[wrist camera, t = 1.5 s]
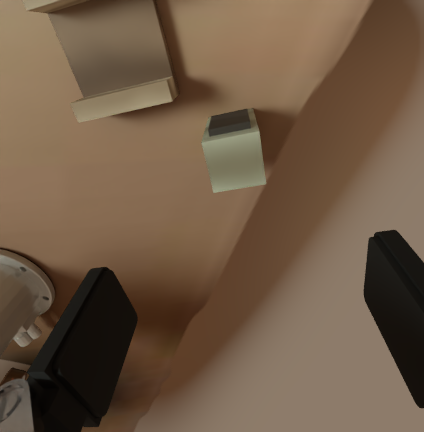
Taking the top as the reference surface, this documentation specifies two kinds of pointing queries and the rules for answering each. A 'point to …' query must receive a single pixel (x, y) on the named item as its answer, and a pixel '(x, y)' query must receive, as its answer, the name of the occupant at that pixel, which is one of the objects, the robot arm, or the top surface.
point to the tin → (14, 375)
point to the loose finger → (233, 151)
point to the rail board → (112, 53)
